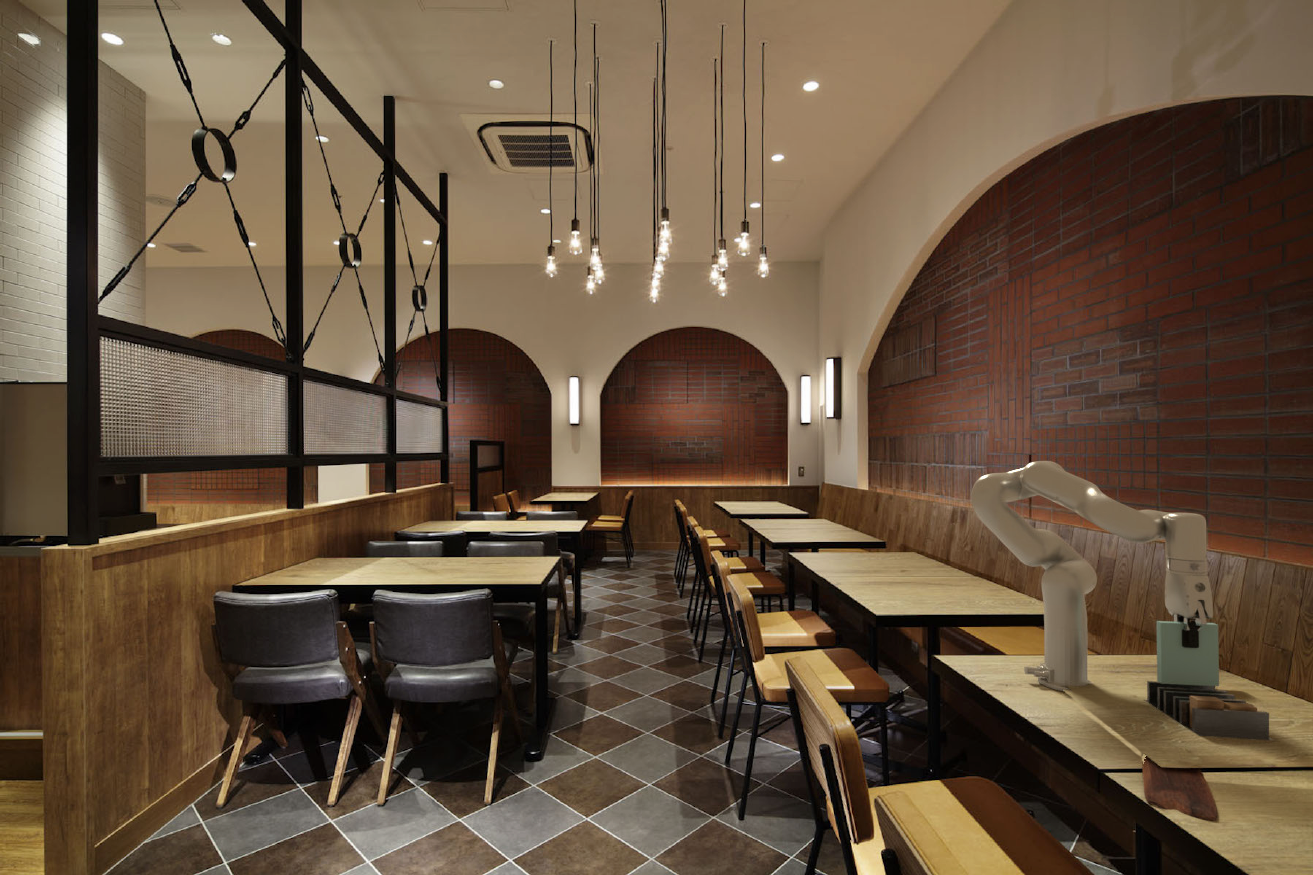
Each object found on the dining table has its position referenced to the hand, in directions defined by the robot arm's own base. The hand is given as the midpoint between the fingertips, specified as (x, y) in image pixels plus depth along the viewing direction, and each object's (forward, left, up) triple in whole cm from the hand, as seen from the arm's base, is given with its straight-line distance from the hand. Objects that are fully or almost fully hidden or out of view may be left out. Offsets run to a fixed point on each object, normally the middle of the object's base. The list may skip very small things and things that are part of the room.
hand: (1187, 645), depth 153 cm
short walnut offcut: (+3, -12, -14) cm, 19 cm away
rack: (0, -6, -16) cm, 17 cm away
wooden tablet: (-22, -34, -17) cm, 44 cm away
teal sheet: (0, 0, -9) cm, 9 cm away
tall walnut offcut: (-3, -12, -14) cm, 19 cm away
